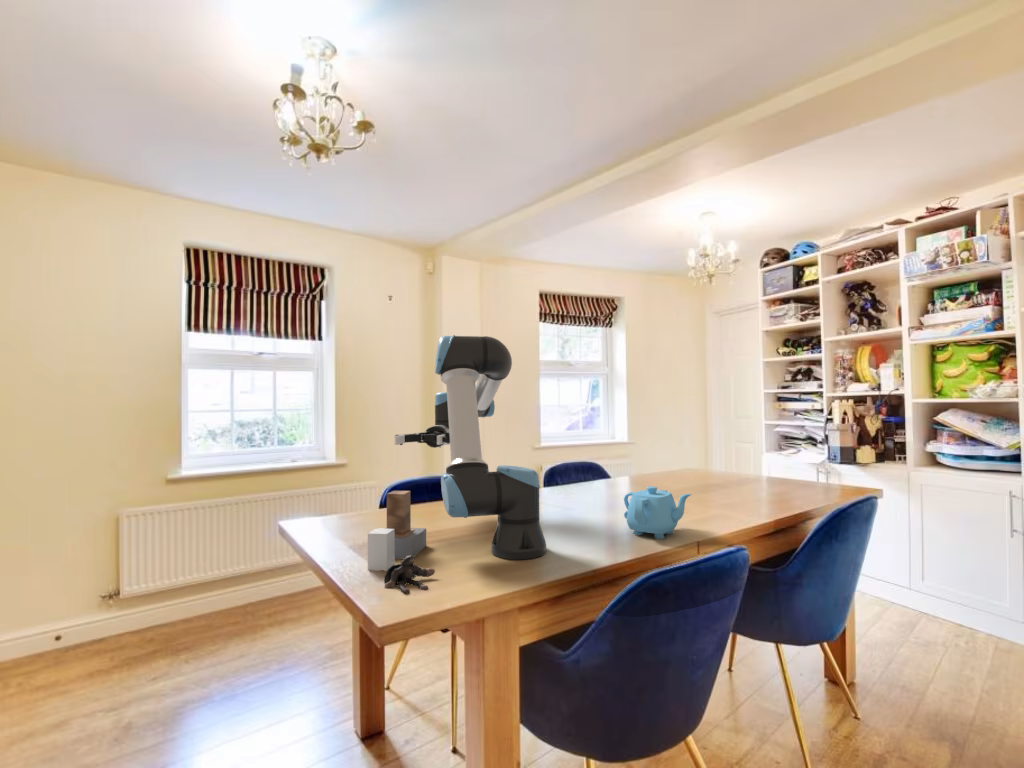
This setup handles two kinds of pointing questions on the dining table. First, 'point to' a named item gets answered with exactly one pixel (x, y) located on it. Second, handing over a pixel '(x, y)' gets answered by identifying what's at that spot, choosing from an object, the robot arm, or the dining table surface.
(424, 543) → the base block
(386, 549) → the white block
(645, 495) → the teapot
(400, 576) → the stuffed animal
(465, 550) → the dining table surface
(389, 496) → the walnut block
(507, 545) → the robot arm
